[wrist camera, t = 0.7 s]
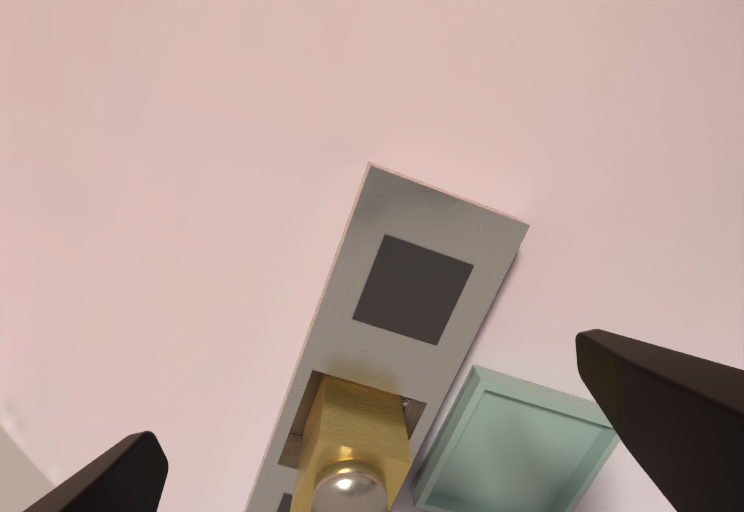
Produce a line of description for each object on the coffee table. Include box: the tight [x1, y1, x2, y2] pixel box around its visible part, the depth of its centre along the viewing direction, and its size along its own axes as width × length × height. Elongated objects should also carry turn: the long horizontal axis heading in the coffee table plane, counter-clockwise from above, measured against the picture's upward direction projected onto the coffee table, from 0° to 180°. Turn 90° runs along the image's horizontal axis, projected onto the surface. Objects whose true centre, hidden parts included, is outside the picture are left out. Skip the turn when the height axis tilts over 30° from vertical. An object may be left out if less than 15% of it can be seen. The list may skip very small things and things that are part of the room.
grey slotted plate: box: [244, 162, 530, 512], centre depth 22 cm, size 8×24×3 cm, turn 160°
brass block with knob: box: [290, 373, 412, 512], centre depth 20 cm, size 4×4×7 cm
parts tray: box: [411, 365, 621, 512], centre depth 25 cm, size 10×10×2 cm
